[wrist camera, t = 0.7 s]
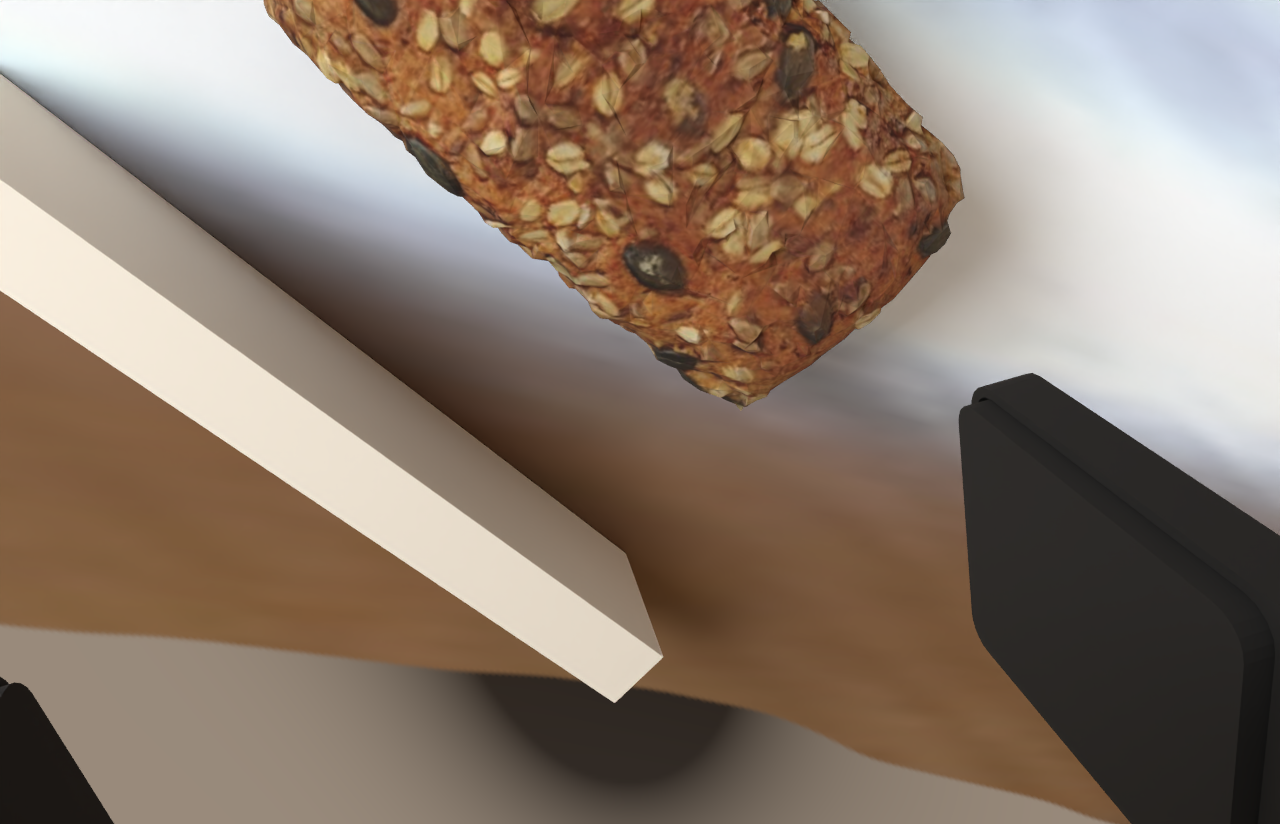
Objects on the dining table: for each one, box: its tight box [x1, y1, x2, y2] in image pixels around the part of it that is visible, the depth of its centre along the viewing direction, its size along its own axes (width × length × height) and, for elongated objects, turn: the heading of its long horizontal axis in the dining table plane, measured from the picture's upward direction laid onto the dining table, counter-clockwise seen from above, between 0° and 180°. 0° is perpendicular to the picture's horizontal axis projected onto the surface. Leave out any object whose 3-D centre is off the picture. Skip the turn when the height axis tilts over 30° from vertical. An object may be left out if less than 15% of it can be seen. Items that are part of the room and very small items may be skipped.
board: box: [0, 74, 663, 703], centre depth 33 cm, size 2×28×7 cm, turn 45°
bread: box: [264, 0, 964, 410], centre depth 30 cm, size 19×11×10 cm, turn 46°
